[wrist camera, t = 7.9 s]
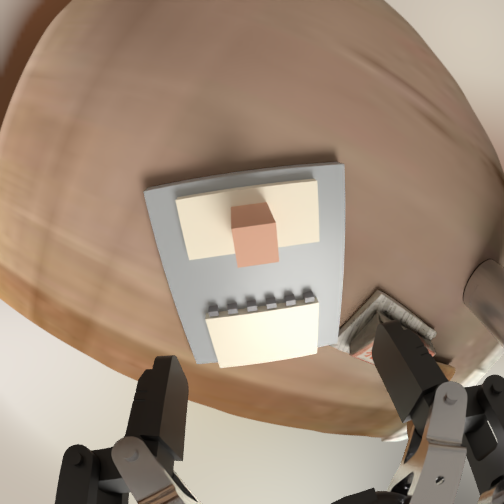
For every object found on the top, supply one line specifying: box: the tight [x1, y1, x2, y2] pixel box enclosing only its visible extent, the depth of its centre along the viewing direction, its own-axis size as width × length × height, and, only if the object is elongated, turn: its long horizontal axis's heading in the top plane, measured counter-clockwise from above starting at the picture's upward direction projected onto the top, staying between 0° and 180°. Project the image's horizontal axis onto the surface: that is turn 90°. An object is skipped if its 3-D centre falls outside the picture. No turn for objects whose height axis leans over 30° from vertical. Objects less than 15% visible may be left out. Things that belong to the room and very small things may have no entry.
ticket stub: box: [175, 179, 319, 268], centre depth 22 cm, size 12×6×6 cm, turn 97°
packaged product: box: [329, 290, 437, 365], centre depth 34 cm, size 18×5×10 cm
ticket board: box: [143, 162, 345, 368], centre depth 28 cm, size 18×22×2 cm
